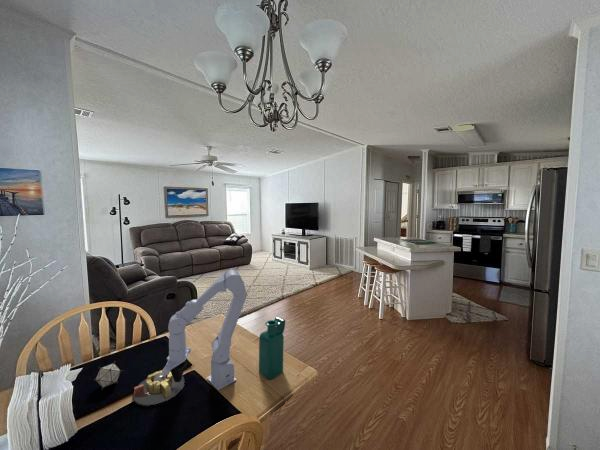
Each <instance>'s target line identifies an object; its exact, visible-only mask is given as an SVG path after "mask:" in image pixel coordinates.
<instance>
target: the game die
mask: <svg viewBox="0 0 600 450" xmlns="http://www.w3.org/2000/svg"><path fill="white" fill-rule="evenodd" d="M98 369H99V371H98V372H97V376H96V377H95V378H94V379H93V381H96V382H97V383H98V385H99V386H100V387H101V391H103V390H104V388H105V387H108V386H110V385H113V384H119V381H118V379H119V376H120V374H121V373H122V372H124V369H120V368H119V366H117V365H116V360H114V361H113V362H112V363H110V364H107V365H105V366H103V367H100V366H98Z"/></svg>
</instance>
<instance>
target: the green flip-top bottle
mask: <svg viewBox="0 0 600 450" xmlns="http://www.w3.org/2000/svg"><path fill="white" fill-rule="evenodd" d="M265 326H266V327H267V329H266V330H265V331H263V332H261V333H260V335H259V336H258V372H259V374H260V375H262V376H263V377H264V378H265V379H267V380H273V379H275V378H276V377H278V376H280V375H282V374H283V372H284V349H285V348H284V347H285V346H284V343H285V341H284V338H285V336H284V332H285V328H286V320H285V319H283V318H282V317H279V316H275V317H274V319H273V320H272V319H270V320H267V321H266V322H265Z"/></svg>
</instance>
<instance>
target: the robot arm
mask: <svg viewBox="0 0 600 450" xmlns="http://www.w3.org/2000/svg"><path fill="white" fill-rule="evenodd" d="M227 289H228V291H230V293H231V294H232V295H233V296H232V299H231V301H230V304H229V306H228V309H227V312H226V314H225V318H224V320H223V323H222V326H221V328H220V331H218V332H217V336H216V337H215V338H214V339H213V341H212V343H211V347H212V349H211V350H212V355H211V357H210V375H209V376H207V377H206V380H207V381H208V382H210V383H211V384H212V385H213V387H215V389H217V390H218V391H220V390H222V389H223V388H225V387H227V386H229V385H230V384H232V383H234V382H236V381H237V378H236V377H235V365H234V363H232V361H231V357H230V356H231V355H230V354H231V353H230V348H231V345H232V337H233V335H234V331H235V328H236V325H237V323H238V321H239V318H240V316H241V312H242V310H243V307H244V304H245V302H246V299H247V296H248V294H247V289H246V285H245V282H244V280H243V278H242V276H241V275H240V273H239V271H237V270H236V269H234V268H233V269H227V270H226V271H225V272H224V273H223V274H221V275H220V276H219V277H218V278H217V279H216V280H215V281H214V282H213V283H212V284H211V285H210V286H209V287H208V288H207V289H206V290H204V292H202V294H201V295H200V296H199V297H198V298H196V299H191V300H189V301H187V302H186V303H185V305H184V306H183V308H181V309H180V310H179V311H176V312H175V314H173V315H172V316H171V317H170V319H169V321H168V325H167V326H168V328H167V329H168V334H169V336H168V356H167V357H166V360H167V362H166V365H165V366H164V367H163V369H162V370H163V375H168V374H169V372H171V374H172V376H173V379H174V382H180V381H181V379H182V376H183V374H184V371H185V368H186V366H187V363H188V359H187V358H188V355H189V354H191V352H192V351H191V350H192V348H191V347H187V346H186V345H187V343H186V342H187V340H186V339H187V334H186V327H187V325H188V324H189V323H191V321H193V320H194V319H195V318H196V317H197V316H198V315H199V314H200V313H201V312H202V311H203V306H204V305H205V304H207V303H208V302H209V301H211V299H212V298H214V297H215V296H216V295H217V294H218V293H219V292H220V293H223V292H228V291H227Z"/></svg>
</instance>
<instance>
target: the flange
mask: <svg viewBox="0 0 600 450" xmlns="http://www.w3.org/2000/svg"><path fill="white" fill-rule="evenodd" d="M165 379H166V375H163V373H159V374H157V375H155V376H154V381H157V383H158V382H162V381H164V380H165ZM146 381H147V378H145V379H144V380H143V381H141V382H140V383H139V384H138V385H137V386H135V387H133V389H134V391H133V397H132V398H133V401H134V403H135V404H137V405H138V406H141V405H142V406H141V407H151V406H150V405H155V406H157V405H156V404H159V403H162V402H165V401H167V402H169V401H171V400H172V399H171V398H173V397H174V398H176V397H177V396H178V395H179V394H180V393H181V392H182V391H181V390H183V389H184V387H185V384H184V383H185V377H184V376H183V375H182V379H181V381H180V382H174V379H173V383H172V386H171V396H169V397H167V398H165V396H164V395H163V394H162V392H160V393H156V394H152V393H149V392H148V391H147V389H146ZM180 391H181V392H180ZM179 392H180V393H179ZM178 393H179V394H178ZM177 394H178V395H177ZM176 395H177V396H176ZM174 398H173V399H174ZM170 399H171V400H170ZM168 400H169V401H168ZM165 403H166V402H165ZM162 404H163V403H162ZM159 405H160V404H159Z"/></svg>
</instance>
